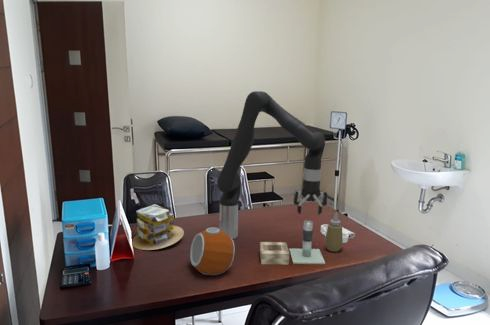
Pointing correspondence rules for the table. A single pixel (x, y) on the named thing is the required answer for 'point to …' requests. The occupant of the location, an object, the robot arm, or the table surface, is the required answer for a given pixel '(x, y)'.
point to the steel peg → (307, 238)
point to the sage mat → (299, 259)
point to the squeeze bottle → (334, 235)
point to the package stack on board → (156, 228)
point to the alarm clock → (212, 251)
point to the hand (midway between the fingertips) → (309, 213)
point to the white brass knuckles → (345, 233)
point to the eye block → (274, 253)
